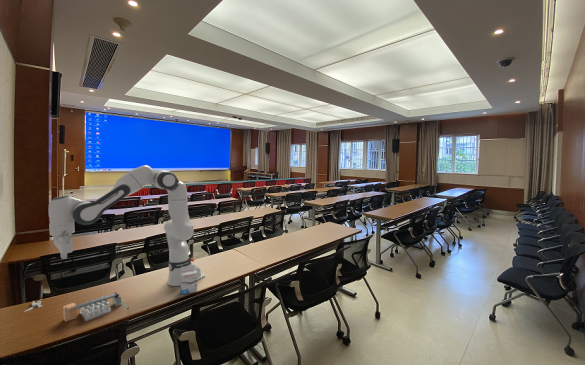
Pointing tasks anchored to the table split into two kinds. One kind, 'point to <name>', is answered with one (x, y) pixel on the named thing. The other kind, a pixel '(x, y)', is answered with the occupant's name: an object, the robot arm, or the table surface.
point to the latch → (69, 312)
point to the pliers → (35, 305)
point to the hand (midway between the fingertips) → (64, 258)
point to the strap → (96, 301)
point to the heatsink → (98, 308)
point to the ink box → (188, 279)
